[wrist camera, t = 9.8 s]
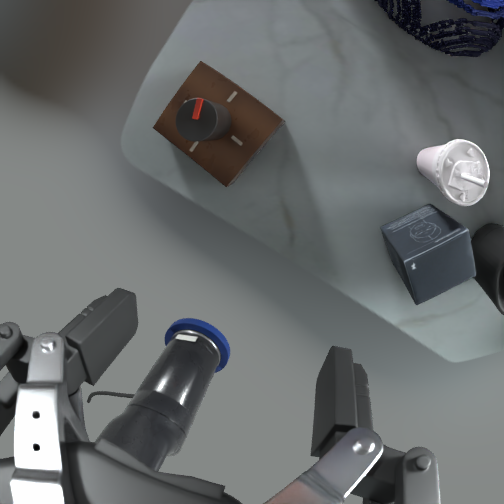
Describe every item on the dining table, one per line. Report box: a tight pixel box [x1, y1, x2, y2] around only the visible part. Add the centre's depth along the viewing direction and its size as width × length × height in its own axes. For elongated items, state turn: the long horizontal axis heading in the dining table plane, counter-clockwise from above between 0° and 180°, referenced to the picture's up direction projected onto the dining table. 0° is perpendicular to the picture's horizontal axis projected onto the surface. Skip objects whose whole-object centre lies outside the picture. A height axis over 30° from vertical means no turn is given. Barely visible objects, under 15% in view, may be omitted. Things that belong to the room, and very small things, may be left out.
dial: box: [175, 98, 231, 142], centre depth 27 cm, size 4×4×5 cm
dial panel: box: [153, 61, 285, 187], centre depth 31 cm, size 10×12×3 cm
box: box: [380, 204, 476, 305], centre depth 28 cm, size 8×6×11 cm
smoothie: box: [417, 139, 490, 206], centre depth 22 cm, size 6×6×14 cm
